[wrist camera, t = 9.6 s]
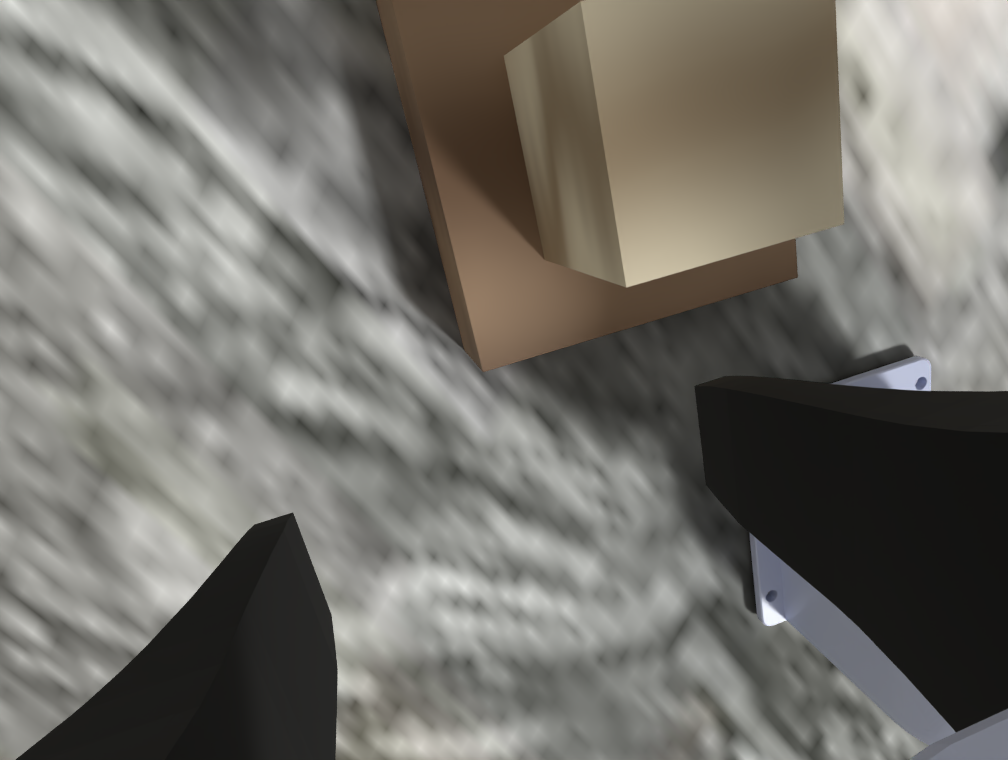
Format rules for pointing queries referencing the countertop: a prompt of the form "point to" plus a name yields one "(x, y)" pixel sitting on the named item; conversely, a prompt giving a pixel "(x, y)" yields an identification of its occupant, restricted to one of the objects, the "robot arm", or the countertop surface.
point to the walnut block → (516, 193)
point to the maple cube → (679, 131)
